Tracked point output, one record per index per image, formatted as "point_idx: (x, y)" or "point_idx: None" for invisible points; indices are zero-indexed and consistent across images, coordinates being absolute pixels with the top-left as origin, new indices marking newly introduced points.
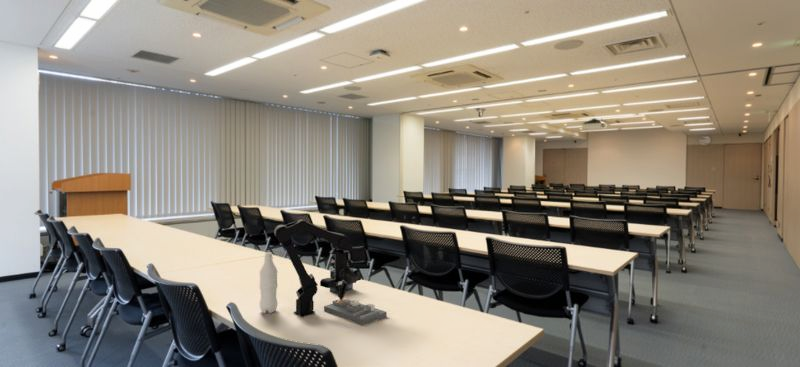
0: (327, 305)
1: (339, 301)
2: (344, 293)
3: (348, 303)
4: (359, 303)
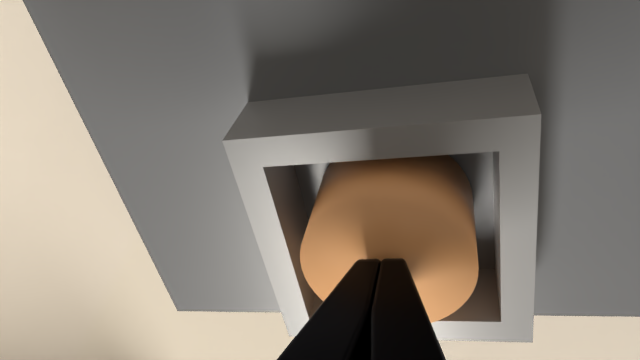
0: (637, 304)
1: (467, 228)
2: (284, 355)
3: (272, 111)
4: (41, 5)
